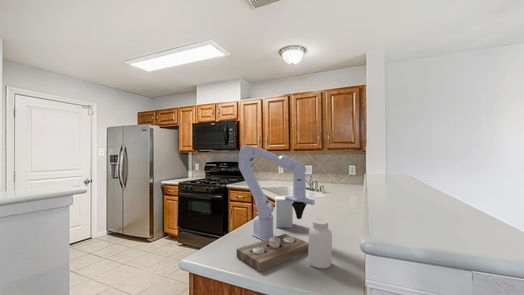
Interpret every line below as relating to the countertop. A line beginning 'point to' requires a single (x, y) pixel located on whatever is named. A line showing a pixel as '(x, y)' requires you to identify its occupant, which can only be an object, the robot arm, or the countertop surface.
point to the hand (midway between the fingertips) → (299, 218)
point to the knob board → (272, 252)
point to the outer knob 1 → (258, 251)
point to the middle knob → (274, 243)
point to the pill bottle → (320, 244)
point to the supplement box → (283, 212)
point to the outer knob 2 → (288, 240)
